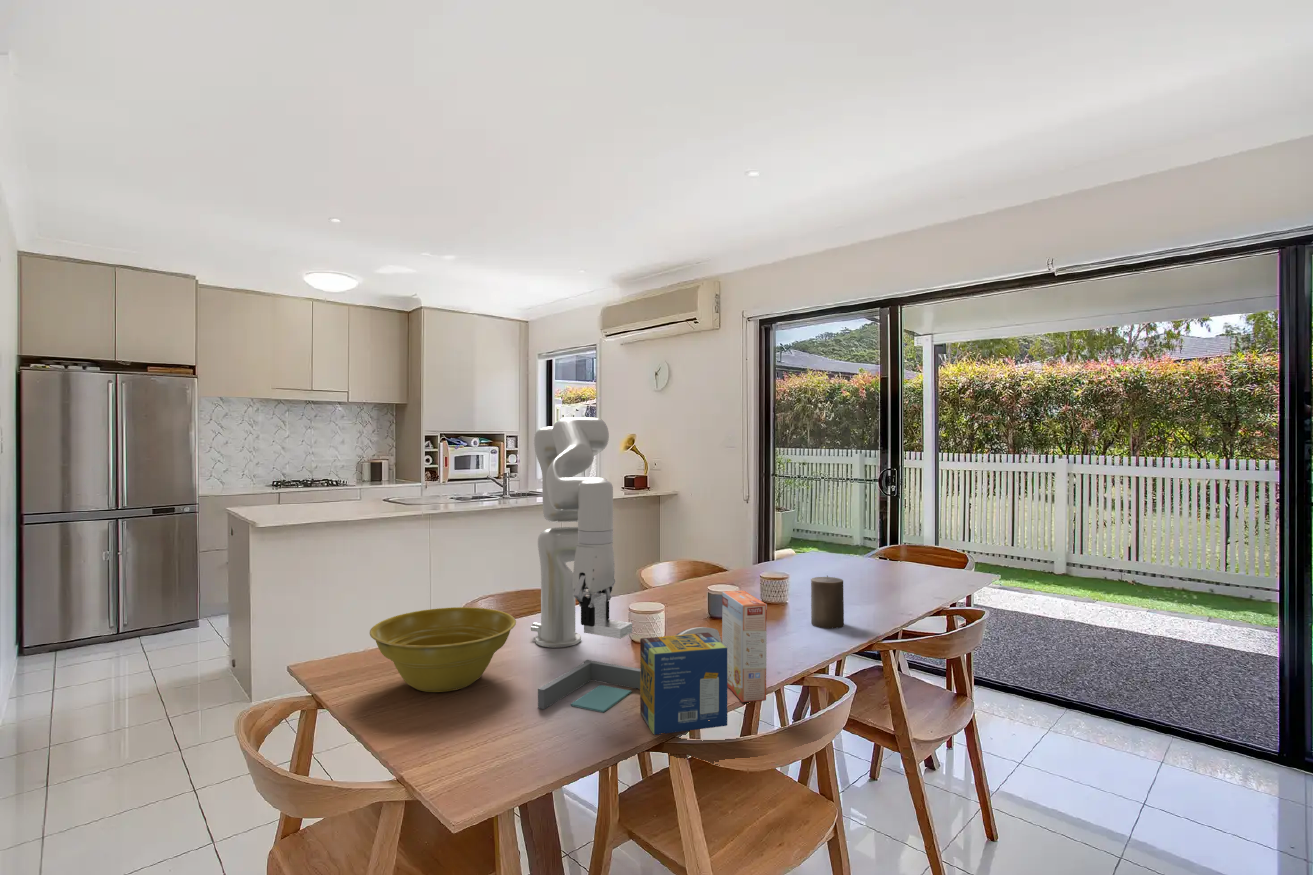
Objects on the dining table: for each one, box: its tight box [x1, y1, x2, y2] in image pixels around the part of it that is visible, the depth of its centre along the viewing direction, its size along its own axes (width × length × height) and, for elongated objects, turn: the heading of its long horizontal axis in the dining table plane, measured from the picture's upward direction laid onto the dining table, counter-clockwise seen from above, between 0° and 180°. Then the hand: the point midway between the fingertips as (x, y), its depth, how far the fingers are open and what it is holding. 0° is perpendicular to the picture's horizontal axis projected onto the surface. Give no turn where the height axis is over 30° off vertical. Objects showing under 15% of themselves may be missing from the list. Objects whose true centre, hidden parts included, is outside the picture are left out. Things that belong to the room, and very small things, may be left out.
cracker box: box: [721, 590, 768, 703], centre depth 145 cm, size 14×6×21 cm, turn 12°
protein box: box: [639, 632, 728, 736], centre depth 130 cm, size 10×15×16 cm
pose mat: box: [570, 684, 632, 713], centre depth 140 cm, size 8×12×1 cm, turn 154°
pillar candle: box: [810, 575, 845, 630], centre depth 198 cm, size 10×10×15 cm
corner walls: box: [537, 659, 640, 710], centre depth 141 cm, size 18×20×4 cm
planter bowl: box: [369, 606, 517, 693], centre depth 151 cm, size 32×32×13 cm
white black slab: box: [675, 626, 722, 643], centre depth 162 cm, size 17×5×10 cm, turn 129°
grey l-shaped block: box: [583, 592, 633, 640], centre depth 139 cm, size 9×5×8 cm, turn 63°
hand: (595, 621), depth 140 cm, fingers closed on grey l-shaped block, 5 cm apart
